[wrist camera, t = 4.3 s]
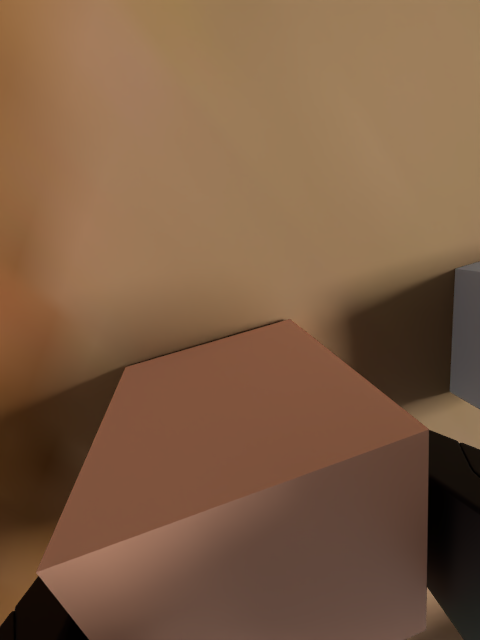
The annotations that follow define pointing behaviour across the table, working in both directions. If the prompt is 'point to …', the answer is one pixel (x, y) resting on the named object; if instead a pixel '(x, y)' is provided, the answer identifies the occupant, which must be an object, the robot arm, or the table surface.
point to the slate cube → (466, 335)
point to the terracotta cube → (247, 501)
